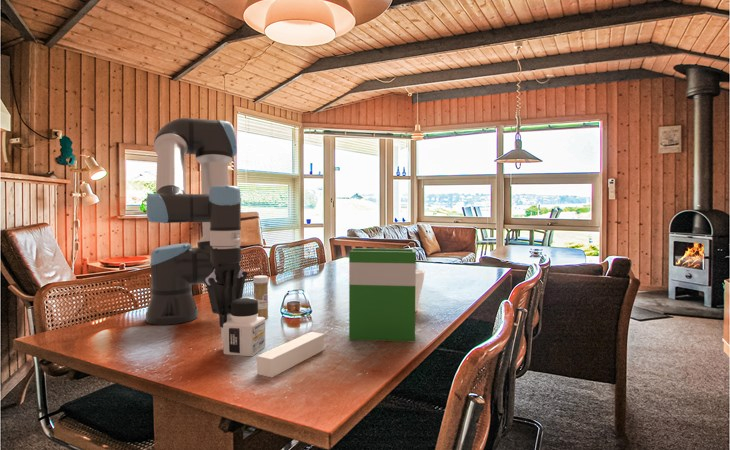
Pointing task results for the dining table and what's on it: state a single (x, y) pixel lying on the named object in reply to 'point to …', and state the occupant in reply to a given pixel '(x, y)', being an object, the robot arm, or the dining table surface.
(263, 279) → the sprinkles bottle
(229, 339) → the container
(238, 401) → the dining table surface
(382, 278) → the hardback book
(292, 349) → the white rectangular bar
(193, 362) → the dining table surface
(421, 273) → the cup
